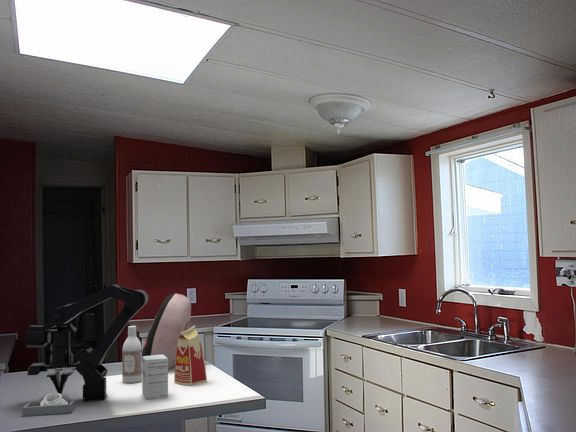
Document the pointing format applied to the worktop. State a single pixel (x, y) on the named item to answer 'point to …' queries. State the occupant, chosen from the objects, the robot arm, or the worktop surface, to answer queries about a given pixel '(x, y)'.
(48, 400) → the whipped cream
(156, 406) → the worktop surface
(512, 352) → the worktop surface
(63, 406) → the tray
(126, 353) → the bath foam
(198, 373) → the milk carton
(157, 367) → the supplement box
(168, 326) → the beige tall rounded piece
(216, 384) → the worktop surface
